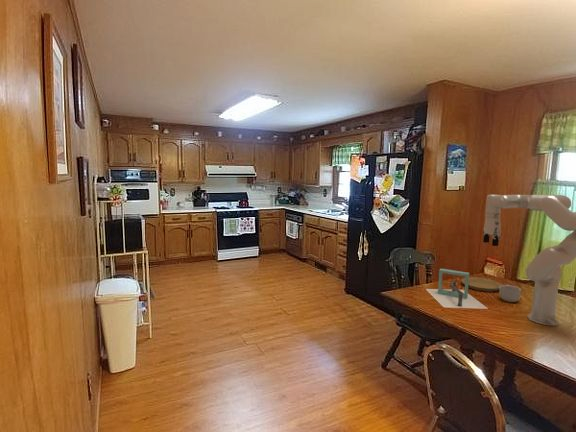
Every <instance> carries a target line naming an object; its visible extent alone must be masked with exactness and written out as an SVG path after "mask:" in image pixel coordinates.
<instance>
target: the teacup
mask: <svg viewBox="0 0 576 432" xmlns="http://www.w3.org/2000/svg"><path fill="white" fill-rule="evenodd" d="M498 291H499V292H498V293H499V294H498V295H499V297H500V299H502V300H503V301H505V302H509V303H516V302H518V301H520V299H521V291H522V288H520V287H518V286H515V285H510V284H506V285H505V284H502V286H500V287H499V290H498Z"/></svg>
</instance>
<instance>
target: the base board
mask: <svg viewBox="0 0 576 432" xmlns="http://www.w3.org/2000/svg"><path fill="white" fill-rule="evenodd" d="M444 290H449V291H452V289H447V288H445V289H444ZM459 290H460V291H461V292H462V293H464V291H465V289H459ZM425 291H427V293H428V294H430V295H431V297H433V299H435V300H436V301H437V302H438V303H439V304H440V306H442V307H443V308H444V309H445V308H450V309H478V310H479V309H482V310H483V309H484V310H485V309H487V310H488V309H489V307H487V306H485V305H484V304H482V302H480V301H479V300H478V299H476V298H475V297H474V296H472V295H471V294H469V293H468V297H467V299H463V298H462V306H461V307H460V306H458V298H457V297H452V296H447V295H441V294H438V288H425Z"/></svg>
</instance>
